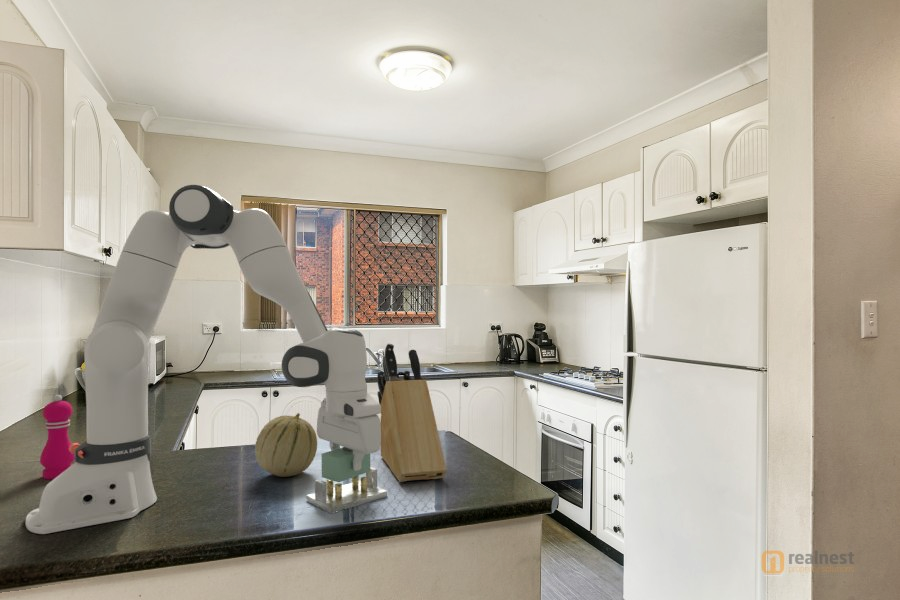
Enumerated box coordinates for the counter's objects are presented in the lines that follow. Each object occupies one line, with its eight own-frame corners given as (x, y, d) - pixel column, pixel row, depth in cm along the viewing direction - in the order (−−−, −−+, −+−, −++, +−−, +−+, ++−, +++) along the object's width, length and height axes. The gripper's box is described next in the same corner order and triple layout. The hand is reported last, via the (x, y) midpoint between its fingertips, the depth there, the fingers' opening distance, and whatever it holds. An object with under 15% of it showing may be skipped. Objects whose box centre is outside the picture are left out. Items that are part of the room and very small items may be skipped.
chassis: (330, 513, 109) (330, 487, 109) (306, 500, 116) (306, 476, 116) (387, 496, 119) (387, 472, 119) (361, 485, 126) (361, 462, 126)
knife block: (412, 445, 161) (411, 340, 161) (447, 482, 127) (446, 351, 127) (374, 448, 157) (373, 342, 157) (400, 488, 124) (399, 352, 124)
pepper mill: (72, 468, 140) (72, 391, 140) (78, 475, 135) (78, 394, 135) (37, 475, 135) (37, 394, 135) (42, 482, 130) (42, 398, 130)
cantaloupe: (243, 476, 133) (243, 415, 133) (295, 462, 144) (294, 406, 144) (277, 489, 123) (277, 423, 123) (330, 473, 134) (329, 413, 134)
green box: (338, 482, 112) (338, 455, 112) (321, 477, 116) (321, 450, 116) (370, 471, 119) (370, 445, 119) (353, 466, 123) (353, 441, 123)
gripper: (309, 398, 123) (310, 458, 123) (360, 411, 108) (360, 480, 108) (333, 394, 127) (334, 453, 127) (386, 406, 112) (386, 473, 112)
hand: (347, 466), depth 118 cm, fingers closed on green box, 6 cm apart
